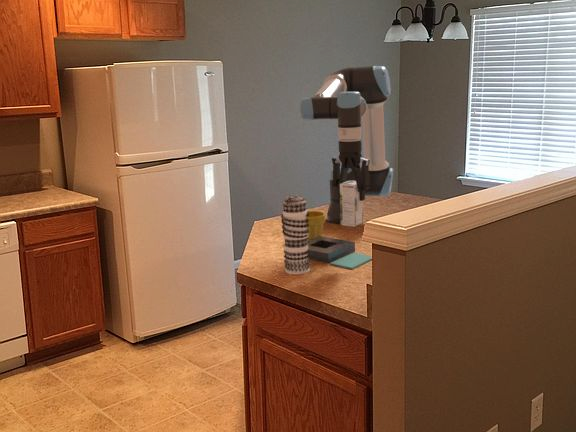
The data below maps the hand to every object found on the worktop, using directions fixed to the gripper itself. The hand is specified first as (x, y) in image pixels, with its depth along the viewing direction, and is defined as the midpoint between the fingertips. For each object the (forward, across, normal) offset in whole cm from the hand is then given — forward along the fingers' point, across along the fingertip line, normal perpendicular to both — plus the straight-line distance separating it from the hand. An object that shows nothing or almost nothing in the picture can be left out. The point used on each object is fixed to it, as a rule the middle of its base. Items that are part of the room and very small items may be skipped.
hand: (351, 208), depth 212 cm
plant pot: (+19, -30, +16) cm, 39 cm away
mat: (+19, 0, 0) cm, 19 cm away
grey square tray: (+19, -14, +2) cm, 23 cm away
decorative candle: (+19, -10, -17) cm, 27 cm away
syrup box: (+6, 0, 0) cm, 6 cm away
